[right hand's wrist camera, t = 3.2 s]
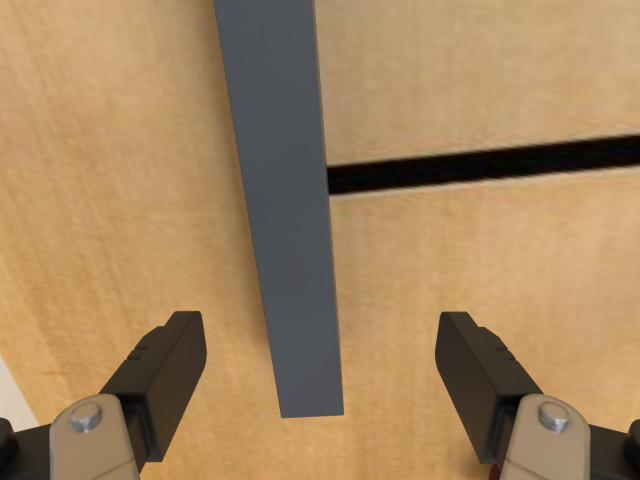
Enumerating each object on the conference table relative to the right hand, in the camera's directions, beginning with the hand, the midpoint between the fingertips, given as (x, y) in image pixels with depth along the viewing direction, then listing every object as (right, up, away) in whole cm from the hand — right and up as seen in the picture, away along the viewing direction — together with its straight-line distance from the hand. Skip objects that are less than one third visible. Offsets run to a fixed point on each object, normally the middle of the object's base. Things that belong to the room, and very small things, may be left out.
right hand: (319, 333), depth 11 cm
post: (-3, +23, +10) cm, 25 cm away
